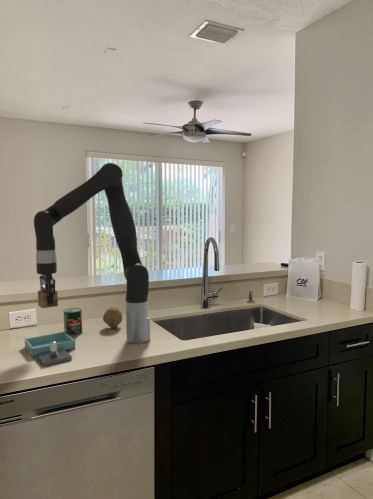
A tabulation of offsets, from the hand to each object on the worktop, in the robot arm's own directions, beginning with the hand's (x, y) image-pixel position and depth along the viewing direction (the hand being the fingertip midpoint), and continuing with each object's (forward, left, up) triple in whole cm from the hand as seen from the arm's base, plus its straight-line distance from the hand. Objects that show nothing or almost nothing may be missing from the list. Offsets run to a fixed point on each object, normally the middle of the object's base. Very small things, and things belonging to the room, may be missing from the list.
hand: (48, 302), depth 147 cm
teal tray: (0, 0, -19) cm, 19 cm away
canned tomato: (-14, -13, -19) cm, 27 cm away
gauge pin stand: (+2, +13, -19) cm, 23 cm away
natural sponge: (-32, -10, -19) cm, 38 cm away
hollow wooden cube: (0, 0, -1) cm, 1 cm away
